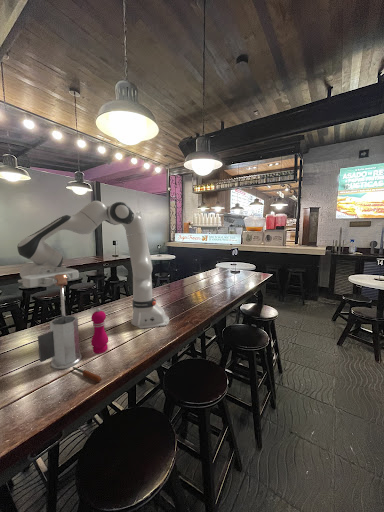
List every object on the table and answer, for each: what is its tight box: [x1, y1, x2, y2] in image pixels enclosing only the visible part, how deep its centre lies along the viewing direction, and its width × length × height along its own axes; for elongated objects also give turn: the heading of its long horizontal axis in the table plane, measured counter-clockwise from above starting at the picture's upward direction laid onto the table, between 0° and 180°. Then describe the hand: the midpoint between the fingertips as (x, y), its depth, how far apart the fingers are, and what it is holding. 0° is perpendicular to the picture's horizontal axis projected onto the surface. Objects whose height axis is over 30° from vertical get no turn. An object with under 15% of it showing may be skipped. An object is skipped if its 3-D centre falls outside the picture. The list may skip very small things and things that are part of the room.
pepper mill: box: [90, 307, 109, 354], centre depth 98 cm, size 7×7×20 cm
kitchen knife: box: [72, 366, 102, 383], centre depth 81 cm, size 16×1×2 cm, turn 63°
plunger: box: [55, 274, 68, 324], centre depth 87 cm, size 6×6×26 cm
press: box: [37, 315, 82, 371], centre depth 88 cm, size 11×14×18 cm
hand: (62, 280), depth 86 cm, fingers closed on plunger, 4 cm apart
